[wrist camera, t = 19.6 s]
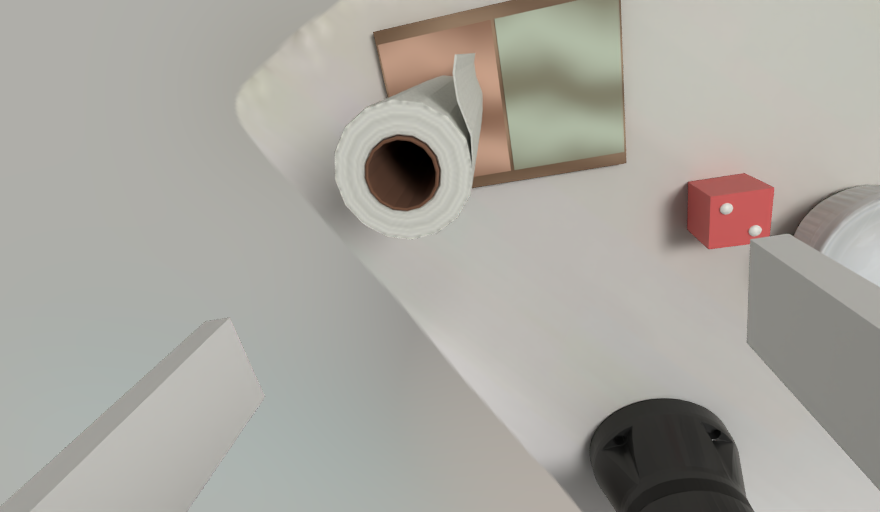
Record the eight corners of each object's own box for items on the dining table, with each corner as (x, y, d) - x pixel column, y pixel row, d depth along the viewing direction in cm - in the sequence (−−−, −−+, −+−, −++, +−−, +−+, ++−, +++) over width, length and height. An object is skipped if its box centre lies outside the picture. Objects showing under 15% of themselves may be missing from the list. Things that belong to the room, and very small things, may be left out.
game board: (623, 160, 39) (626, 163, 39) (412, 195, 43) (410, 198, 42) (616, -23, 34) (620, -25, 33) (375, 32, 37) (372, 32, 37)
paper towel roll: (433, 161, 40) (379, 262, 21) (398, 97, 38) (303, 144, 19) (507, 121, 38) (524, 193, 19) (475, 52, 36) (455, 53, 17)
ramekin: (862, 306, 43) (909, 339, 38) (751, 271, 42) (784, 299, 38) (952, 197, 38) (1019, 218, 33) (828, 156, 38) (876, 171, 33)
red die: (741, 222, 41) (770, 242, 36) (687, 229, 41) (709, 249, 37) (744, 173, 39) (775, 188, 35) (688, 181, 40) (711, 197, 35)
